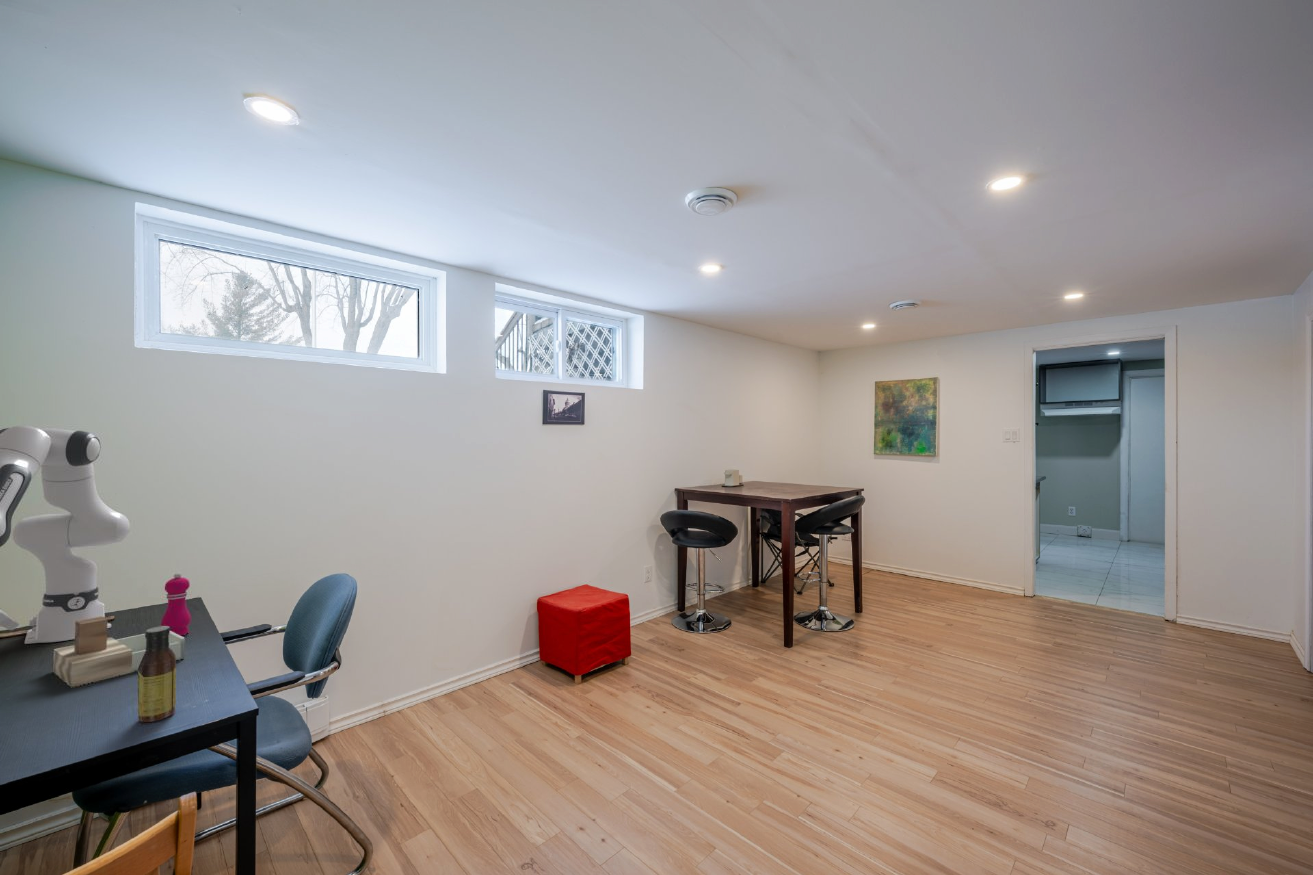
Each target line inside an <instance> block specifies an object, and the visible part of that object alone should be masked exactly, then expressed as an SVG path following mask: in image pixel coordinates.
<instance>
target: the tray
mask: <svg viewBox="0 0 1313 875" xmlns="http://www.w3.org/2000/svg"><path fill="white" fill-rule="evenodd" d="M116 640H117V641H118V642H120V643H122V644H123V645H125V646H127V647H128V648H130V649H132V673H135V671H136V672H138V667H139V665H140V663H141V660H142V658H143V656H144V654H145V651H146V637H145V633H142V634H136V635H132V636H128V637H123V638H118V639H116ZM185 641H186V638H185V637H184V636H180V635H178V634H176V633H174V632H172V631H170V633H169V648H170V649H171V650H172V651H173V652H174V654H175V657H176V660H179V661H182V660H181V659H183V660H184V659H185V644H186V642H185Z"/></svg>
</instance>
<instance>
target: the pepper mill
mask: <svg viewBox="0 0 1313 875" xmlns="http://www.w3.org/2000/svg"><path fill="white" fill-rule="evenodd" d="M190 586H191V585H190V581H189V579H188V578H186V577H182V574H181V572H176V573H174V575H173V578H170V579H169V580H168V581H167V582H166V583H165V585H164V591H165V592H167V594H166V600H167V609H166V610H165V612H164V614H163V616H162V618H161V621H160V626H169V627H170V631H172V632H174V633H176V634H178V635H180V636H182V635H184V634H187V633H188V632H190V630H189V629H190V628H189V627H188V626H189V625H190V624H191V622H192V616H191V613H190V612H189V610H188V608H187V605H186V597H187V596H188V591H187V590H189V588H190ZM188 634H189V633H188ZM188 634H187V635H188ZM182 637H183V636H182Z"/></svg>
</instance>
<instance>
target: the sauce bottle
mask: <svg viewBox="0 0 1313 875" xmlns="http://www.w3.org/2000/svg"><path fill="white" fill-rule="evenodd" d="M144 632H145V633H144V634H145V637H146V651H145V654H144V656H143V658H142V660H141V663H140V665H139V667H138V671H137V715H138V720H139V722H140V723H141V722H142V723H151V722H158V721H162V720H164V719H166V718H168V717H171V716H172V715H174V714H175V711H176V705H177V666H176V662H177V661H176V657H175V654H174V652H173V651H172V650H171V649H170V648H169V633H170V627H169V626H161V625H160V626H159V625H158V626H155V627H151V628H148V629H146V630H145V631H144Z"/></svg>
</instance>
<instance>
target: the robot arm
mask: <svg viewBox="0 0 1313 875" xmlns="http://www.w3.org/2000/svg"><path fill="white" fill-rule="evenodd" d="M101 448H102V447H101V441H100V439H99V438H98V437H97V436H96V435H95V434H93V433H91V432H88V431H84V430H83V431H82V430H73V429H72V430H71V429H63V428H54V427H47V428H45V427H44V428H43V427H35V426H30V425H15V426H11V427H5V428H2V429H0V548H1V547H2V546H4V545H5V544H7V542H8V541H9V539H10V537H11V538H12V540H13V542H14V544H16V545H17V546H18V547H19V548H21V549H23V550H25V551H27V552H29V553H31V554H32V555H34V556H35V557H36V558H37V559H38V560H39V562H40V563H41V564H42V566H43V569H44V576H45V593H44V594H43V597H42V608H40V611H39V612H38V614H36V616H33V617H31V618H29V626H30V627H32V628H31V629H29V630H27V633H26V636H25V640H24V644H25V645H27V644H28V645H29V644H37V643H38V644H39V643H56V642H63V641H64V642H65V641H69V640H75V621H78V620H83V619H89V618H94V617H100V616H103V617H105V618H106V616H105V615H106V614H105V603H103V602H101V601H100V600H98V599H99V594H100V591H99V586H98V585H97V584H98V583H97V581H98V566H97V564H96V562H95V561H93V560H91V559H89V558H87V557H82V556H79V555H77V554H76V553H74V551H73V548H82V547H83V548H84V547H85V548H86V547H99V546H101V547H102V546H107V545H111V544H115V543H120V542H122V541H124V539H125V538H126V537H127V535H128V534H129V533H130V529H131V524H130V521H129V519H128V517H127V516H126V515H124V514H123V513H121V512H118V511H116V510H114V509H113V508H111V507H109V506H108V505H106V503H105V502H104V501H102V499H101V498H100V496H99V494H98V489H97V485H96V479H95V478H96V477H95V476H96V475H95V467H94V462H96V460H97V459H98V457H99V456H100V453H101ZM40 469H41V482H42V483H41V484H42V490H43V498H44V500H45V501H46V502H47V503H48V504H49V505H50V506H53V507H56V508H59V509H62V510H64V511H67V512H68V513H48V514H46V513H45V514H40V515H34V516H28V517H24V518H22V519H20V521H18V522H17V523H16V524H15V526H14V528H13V530H12V519H13V515H14V513H15V512H16V509H17V507H18V505H19V504H20V502H21V500H22V498H23V497H24V495H25V493H26V491H27V490H28V488H29V487H30V486H29V485H30V483H31V481H32V480H33V479H34V477H35V475H36V474H37V473H38V472H39V470H40ZM11 533H12V536H11ZM97 586H98V587H97ZM19 625H20V623H18V622H17V621H16V620H14V619H12V618H11V617H10V615H9V614H8V613H6V612H5V611H4V610H2V609H1V608H0V627H3V628H5V629H7V630H9V631H14V630H15V629H16V628H18V627H19ZM109 628H112V624H111V623H109V622H108V623H107V629H109Z"/></svg>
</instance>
